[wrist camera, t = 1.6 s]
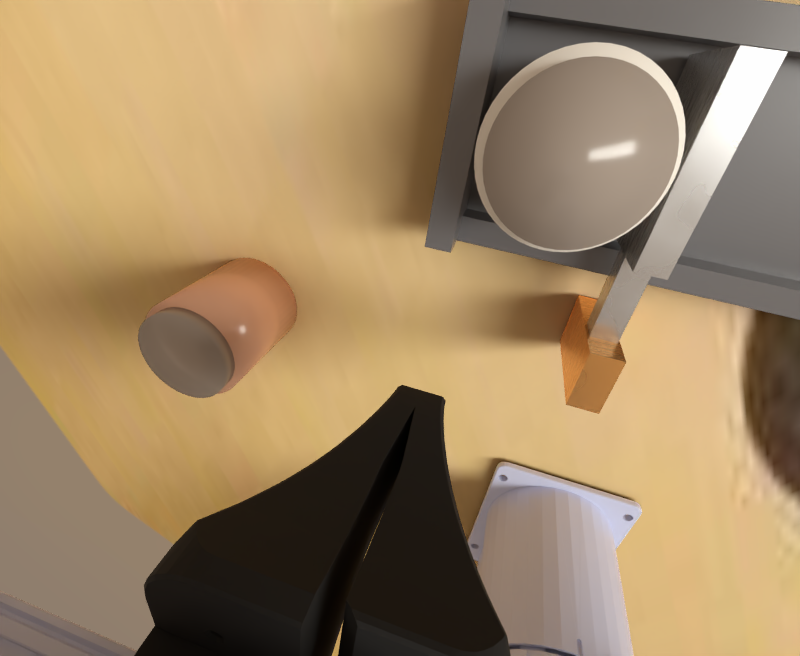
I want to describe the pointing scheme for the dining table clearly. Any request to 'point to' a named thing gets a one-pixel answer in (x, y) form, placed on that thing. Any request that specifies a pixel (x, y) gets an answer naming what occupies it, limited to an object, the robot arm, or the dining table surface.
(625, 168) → the cream jar
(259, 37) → the dining table surface
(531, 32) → the lane
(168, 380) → the terracotta jar
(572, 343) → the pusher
